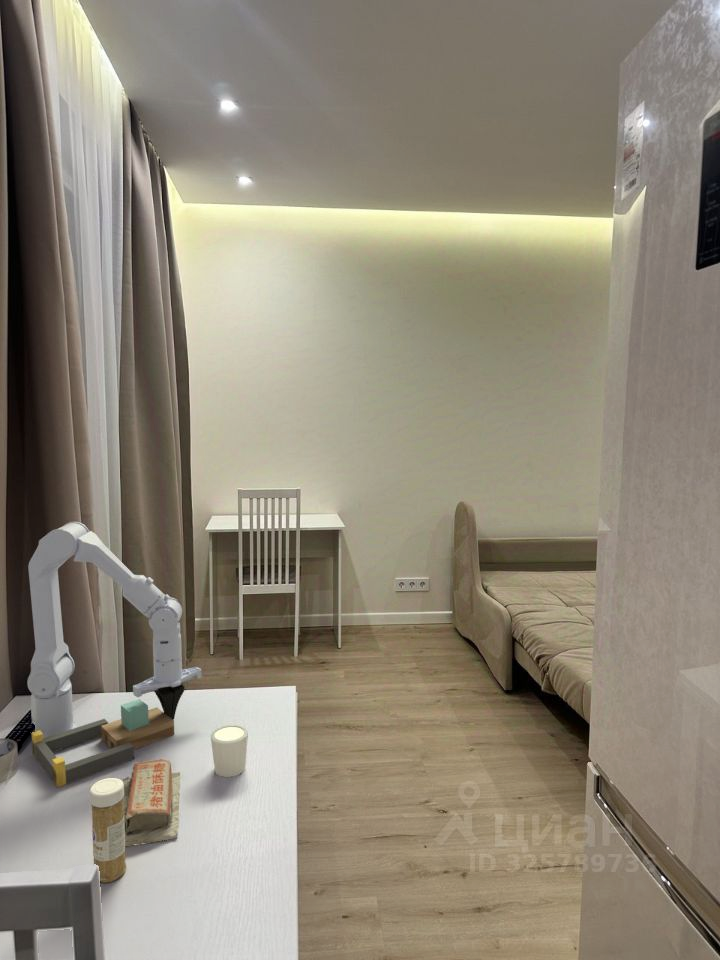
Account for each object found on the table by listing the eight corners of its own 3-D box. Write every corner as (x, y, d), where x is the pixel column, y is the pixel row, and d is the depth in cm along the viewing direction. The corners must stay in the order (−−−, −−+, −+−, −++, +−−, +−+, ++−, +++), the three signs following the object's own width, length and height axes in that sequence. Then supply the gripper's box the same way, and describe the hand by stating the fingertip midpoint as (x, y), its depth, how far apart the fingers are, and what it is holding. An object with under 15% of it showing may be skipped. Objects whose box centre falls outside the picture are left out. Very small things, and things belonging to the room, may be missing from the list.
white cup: (231, 754, 123) (230, 720, 123) (256, 766, 119) (255, 731, 119) (203, 770, 118) (202, 735, 117) (228, 783, 114) (228, 746, 113)
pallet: (101, 739, 129) (100, 725, 129) (157, 720, 137) (156, 707, 137) (117, 755, 123) (116, 740, 123) (174, 734, 131) (173, 720, 131)
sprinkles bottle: (87, 874, 91) (83, 786, 90) (117, 857, 95) (113, 772, 93) (103, 889, 88) (99, 799, 87) (133, 871, 92) (129, 784, 90)
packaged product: (122, 760, 113) (179, 753, 116) (123, 786, 114) (180, 778, 116) (109, 823, 96) (177, 812, 98) (110, 852, 96) (178, 841, 99)
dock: (32, 753, 123) (31, 732, 123) (104, 730, 133) (103, 710, 132) (57, 787, 112) (56, 764, 112) (133, 758, 122) (133, 737, 121)
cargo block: (121, 723, 129) (120, 705, 129) (140, 717, 132) (139, 699, 132) (129, 730, 127) (128, 711, 126) (148, 724, 129) (148, 705, 129)
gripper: (142, 672, 125) (144, 737, 127) (207, 653, 135) (209, 714, 136) (127, 662, 130) (130, 724, 132) (192, 644, 140) (193, 703, 142)
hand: (169, 718), depth 135 cm, fingers closed
